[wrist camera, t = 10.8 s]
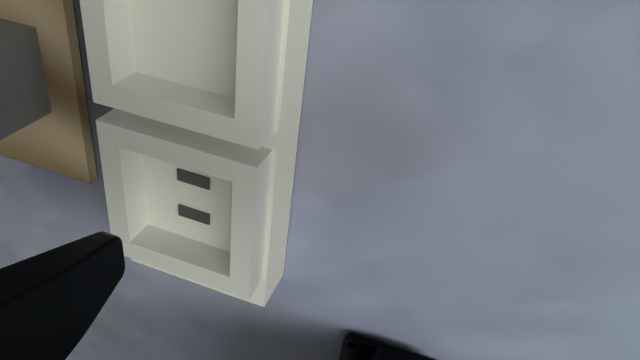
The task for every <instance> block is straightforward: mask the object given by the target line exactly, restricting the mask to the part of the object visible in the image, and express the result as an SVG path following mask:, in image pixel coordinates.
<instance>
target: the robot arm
mask: <svg viewBox="0 0 640 360" xmlns="http://www.w3.org/2000/svg"><path fill="white" fill-rule="evenodd" d="M124 270H125V260H124V251H123V243H122V240H121V238H120V237H118V236H116V235H113V234H110V233H107V232H97V233H95V234H92V235H89V236H87V237H84V238H81V239H79V240H76V241H73V242H71V243H68V244H65V245H63V246H60V247H57V248H55V249H52V250H49V251H47V252H44V253H41V254H38V255H36V256H33V257H30V258H28V259H25V260H22V261H20V262H17V263H14V264H12V265H9V266H6V267H4V268H1V269H0V360H65V359H66V358H67V356H68V355H69V354H70V353H71V351H72V350H73V349H74V348H75V346H76V345H77V344H78V343H79V341H80V340H81V339H82V337H83V336H84V334H85V333H86V331H87V330H88V329H89V327H90V325H91V324H92V322H93V321H94V319H95V318H96V316H97V315H98V313H99V312H100V310H101V309H102V307H103V306H104V304H105V302H106V301H107V299H108V298H109V296H110V295H111V293H112V292H113V290H114V289H115V287H116V286H117V284H118V282H119V281H120V279H121V278H122V276H123V274H124ZM339 360H429V359H426V358H423V357H420V356H418V355H415V354H412V353H409V352H406V351H403V350H400V349H398V348H395V347H392V346H389V345H386V344H383V343H381V342H378V341H375V340H372V339H369V338H366V337H364V336H361V335H358V334H355V333H348V334H346V336H345V338H344V340H343V344H342V348H341V353H340V358H339Z"/></svg>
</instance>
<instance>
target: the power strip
mask: <svg viewBox="0 0 640 360" xmlns="http://www.w3.org/2000/svg"><path fill="white" fill-rule="evenodd" d="M312 5H313V0H80V7H81V14H82V22H83V29H84V37H85V44H86V52H87V59H88V67H89V74H90V82H91V89H92V97H93V102H94V103H98V104H101V105H105V106H108V107H111V108H114V109H112V110H111V111H109V112H108V113H106V114H104V115H103V116H101V117H100V118H98V119H96V127H97V134H98V142H99V150H100V157H101V165H102V172H103V180H104V187H105V195H106V202H107V210H108V217H109V225H110V232H111V234H113V235H116V236H118V237H120V238H121V240H122V243H123V251H124V256H126V257H129V258H131V260H132V261H135V262H138V263H140V264H143V265H146V266H149V267H152V268H155V269H157V270H160V271H163V272H166V273H169V274H171V275H174V276H177V277H180V278H183V279H186V280H188V281H191V282H194V283H197V284H200V285H202V286H205V287H208V288H211V289H214V290H217V291H219V292H222V293H225V294H228V295H231V296H234V297H236V298H239V299H242V300H245V301H248V302H250V303H253V304H256V305H259V306H262V307H265V305H266V303H267V302H268V300H269V298H270V296H271V295H272V293H273V291H274V290H275V288H276V286H277V285H278V283H279V281H280V280H281V278H282V276H283V273H284V263H285V254H286V245H287V236H288V226H289V217H290V208H291V199H292V190H293V180H294V171H295V162H296V153H297V144H298V134H299V125H300V116H301V107H302V98H303V88H304V79H305V70H306V61H307V51H308V42H309V33H310V24H311V15H312Z"/></svg>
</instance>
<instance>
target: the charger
mask: <svg viewBox="0 0 640 360" xmlns="http://www.w3.org/2000/svg"><path fill="white" fill-rule="evenodd" d="M51 112H52V110H51V105H50V99H49V94H48V89H47V83H46V78H45V73H44V67H43V62H42V57H41V52H40V46H39V41H38V36H37V30H36V27H33V26H29V25H25V24H21V23H17V22H13V21H9V20H5V19H1V18H0V140H2V139H4V138H6V137H8V136H9V135H11V134H13V133H15V132H17V131H18V130H20V129H22V128H24V127H26V126H28V125H29V124H31V123H33V122H35V121H37V120H39V119H40V118H42V117H44V116H46V115H48V114H50V113H51Z"/></svg>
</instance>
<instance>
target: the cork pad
mask: <svg viewBox="0 0 640 360" xmlns="http://www.w3.org/2000/svg"><path fill="white" fill-rule="evenodd" d="M0 18H1V19H5V20H9V21H13V22H17V23H21V24H25V25H29V26H33V27H36V30H37V36H38V41H39V46H40V52H41V57H42V62H43V67H44V73H45V78H46V83H47V89H48V94H49V99H50V105H51V110H52V112H51V113H50V114H48V115H46V116H44V117H42V118H40V119H39V120H37V121H35V122H33V123H31V124H29V125H28V126H26V127H24V128H22V129H20V130H18V131H17V132H15V133H13V134H11V135H9V136H8V137H6V138H4V139H2V140H0V154H1V155H4V156H7V157H10V158H13V159H16V160H19V161H22V162H25V163H28V164H31V165H34V166H37V167H40V168H43V169H47V170H50V171H53V172H56V173H59V174H62V175H65V176H68V177H71V178H74V179H77V180H80V181H83V182H86V183H89V184H91V183H92V182H93V181H95V180H96V179H97V171H96V164H95V157H94V150H93V143H92V136H91V128H90V121H89V114H88V107H87V100H86V93H85V86H84V79H83V71H82V64H81V57H80V50H79V43H78V36H77V29H76V21H75V14H74V7H73V0H0Z"/></svg>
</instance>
